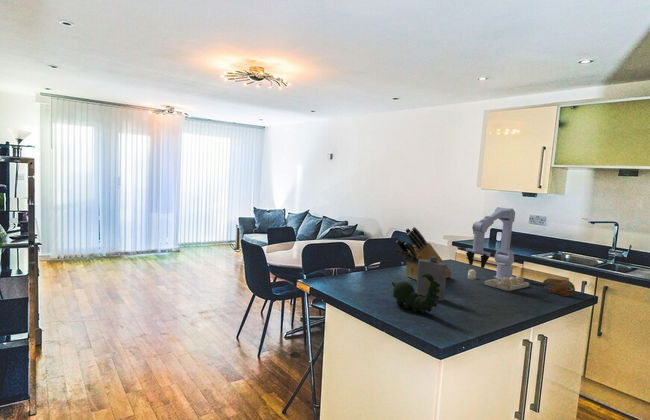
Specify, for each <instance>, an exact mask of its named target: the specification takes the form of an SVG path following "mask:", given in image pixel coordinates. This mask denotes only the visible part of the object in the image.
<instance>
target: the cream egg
mask: <svg viewBox="0 0 650 420" xmlns="http://www.w3.org/2000/svg"><path fill="white" fill-rule="evenodd" d="M476 275H477V272H476V270H475V269H472V268H471V269H468V271H467V279H468V280H473V281H474V280H476Z"/></svg>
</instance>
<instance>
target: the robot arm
mask: <svg viewBox="0 0 650 420" xmlns="http://www.w3.org/2000/svg"><path fill="white" fill-rule="evenodd" d="M515 218H516V211H515V210H514V208H508V207H507V208H506V207H496V208H495V209H494V211H493V213H492V214H491V215H485V216H484V217H483V218H482V219H480V220H479V221H475V222H474V223H473V224H472V227H471V228H472V234H473V243H472V248H471V247H470V248H469V247H468V248H467V247H466V248H465V252H466V253H465V254H466V257H467V259H468V264H469V266H472V265H474V259H475V258H474V257H475V254H477V255H480V268H482V269H484V268H485V267H486V263H487V261H488V260H489V259H490V257H491V252H488V251H485V250H484V248H485V236H486V233H487V232H488V229H489V227H491V226H493V224H494V223H495V221H497V220H499V221H501V222H502V224H503V225H502V231H501V241H500V248H499V249H496V252H495V254H494V261H495V263H496V264H497V266H496V275H494V276H493V278H495V279H497V278H503V277H507V278H510V277H513V270H514V269H513V266H512V265H513V264H514V262H515V253H514V252H513V251H512V250H511V248H510V247H511V241H512V231H513V225H514V223H515Z"/></svg>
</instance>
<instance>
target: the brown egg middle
mask: <svg viewBox="0 0 650 420" xmlns="http://www.w3.org/2000/svg"><path fill="white" fill-rule="evenodd" d="M509 279H510V281H511V284H512V285H517V279H516V276H512V277H510V278H509Z"/></svg>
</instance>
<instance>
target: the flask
mask: <svg viewBox="0 0 650 420" xmlns="http://www.w3.org/2000/svg"><path fill="white" fill-rule="evenodd" d="M436 261H437V257H433V256H432V257H430V260H425V259H420V260H418V274H417V280H416V288H415V289H416V290H415V292H416V293H417V294H418V295H419V296H420V295H421V296H420V297H424V298H425V297H426V294H427V292H428V288H429V287H430V283H431V282H430V281H428V279H427V278H426V277H423V278H422V275H423V274H425V273H428V274H431V275H432V276H433V278H434V281H436V282H437V283H438V284H440V287H438V288H437V289H439V290H440V291H439V293H437V294H436V296H438V297H439V299H435V301H439V302H442V301H445V298H446V297H445V295H446V284H447V283H446V282H447V278H446V272H447V267H448V265H447V264H446V263H445V262H444V263H445V264H444V263H441V262H436Z"/></svg>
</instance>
